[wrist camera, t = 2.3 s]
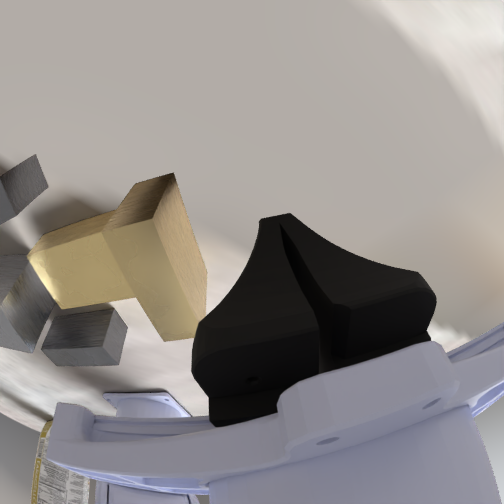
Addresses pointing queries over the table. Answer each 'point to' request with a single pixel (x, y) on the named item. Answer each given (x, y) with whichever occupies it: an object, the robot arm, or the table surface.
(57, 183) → the table surface
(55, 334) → the socket
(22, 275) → the matte gray brick
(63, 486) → the juice carton
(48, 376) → the table surface
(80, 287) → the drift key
